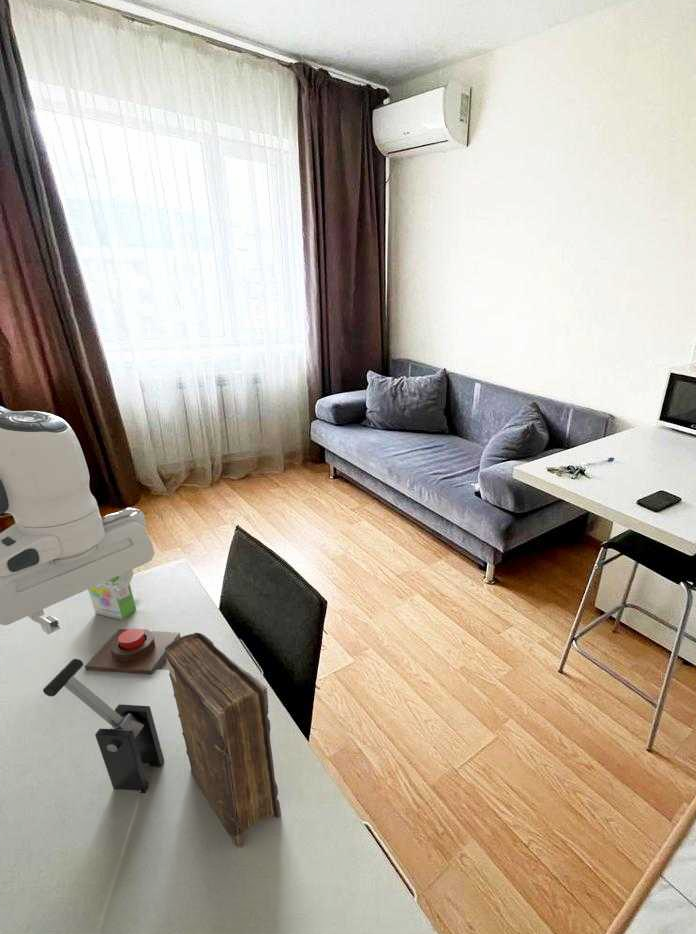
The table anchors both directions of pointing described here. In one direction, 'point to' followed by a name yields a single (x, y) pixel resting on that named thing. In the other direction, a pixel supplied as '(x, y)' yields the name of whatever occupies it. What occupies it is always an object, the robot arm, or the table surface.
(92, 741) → the table surface
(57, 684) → the lever
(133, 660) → the button block
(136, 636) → the button
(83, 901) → the table surface
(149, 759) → the bracket
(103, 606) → the ink box
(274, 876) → the table surface
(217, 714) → the book
